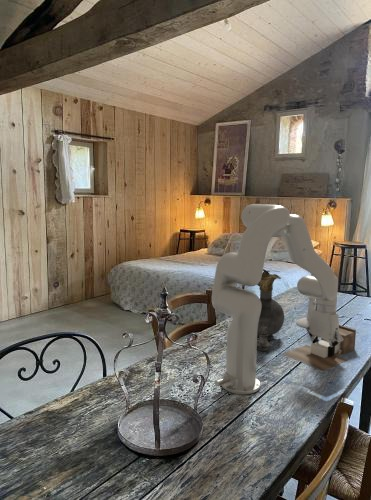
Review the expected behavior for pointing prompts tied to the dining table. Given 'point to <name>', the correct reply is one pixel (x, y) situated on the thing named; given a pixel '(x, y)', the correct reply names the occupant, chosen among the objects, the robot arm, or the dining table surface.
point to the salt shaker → (263, 339)
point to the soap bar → (323, 348)
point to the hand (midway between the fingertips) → (322, 352)
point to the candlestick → (306, 321)
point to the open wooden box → (322, 363)
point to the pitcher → (269, 306)
